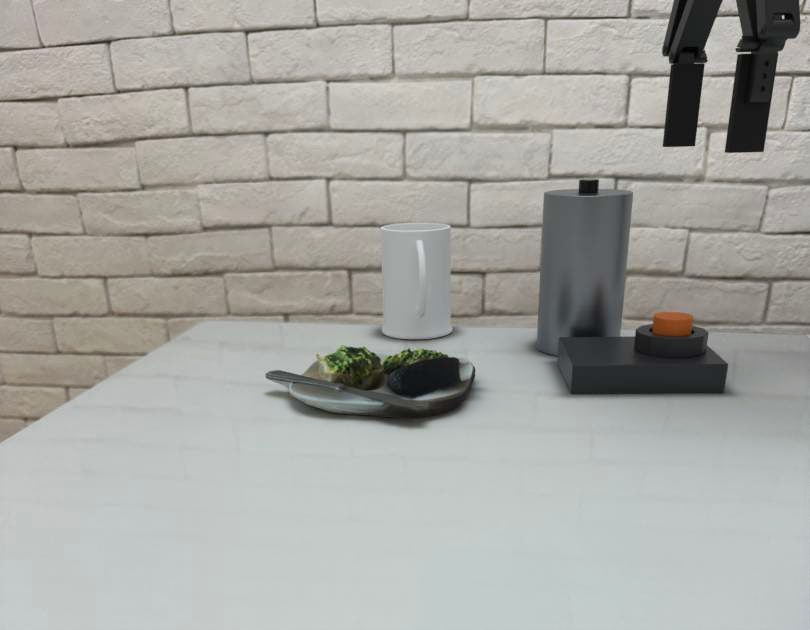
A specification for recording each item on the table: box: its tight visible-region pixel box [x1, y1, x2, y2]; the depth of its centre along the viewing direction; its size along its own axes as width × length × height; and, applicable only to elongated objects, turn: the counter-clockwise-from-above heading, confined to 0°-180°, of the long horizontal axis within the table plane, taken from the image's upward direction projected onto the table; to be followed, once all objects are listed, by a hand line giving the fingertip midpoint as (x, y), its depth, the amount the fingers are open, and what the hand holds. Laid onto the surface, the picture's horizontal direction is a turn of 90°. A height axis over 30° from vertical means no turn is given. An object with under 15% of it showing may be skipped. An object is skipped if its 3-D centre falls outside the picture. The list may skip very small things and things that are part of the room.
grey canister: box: [536, 178, 634, 357], centre depth 91 cm, size 9×9×17 cm
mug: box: [380, 222, 453, 340], centre depth 99 cm, size 12×8×12 cm
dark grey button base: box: [556, 323, 729, 395], centre depth 83 cm, size 14×11×4 cm
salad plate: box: [265, 345, 476, 419], centre depth 80 cm, size 19×18×5 cm
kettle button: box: [652, 311, 694, 336], centre depth 82 cm, size 4×4×2 cm
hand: (708, 149), depth 71 cm, fingers open, 13 cm apart
